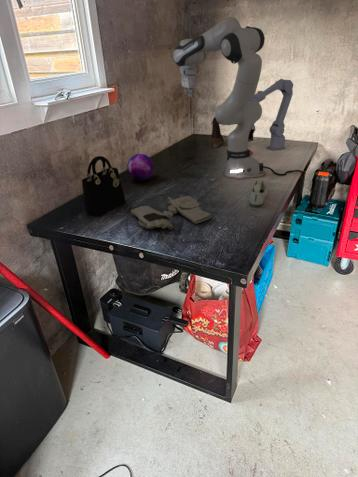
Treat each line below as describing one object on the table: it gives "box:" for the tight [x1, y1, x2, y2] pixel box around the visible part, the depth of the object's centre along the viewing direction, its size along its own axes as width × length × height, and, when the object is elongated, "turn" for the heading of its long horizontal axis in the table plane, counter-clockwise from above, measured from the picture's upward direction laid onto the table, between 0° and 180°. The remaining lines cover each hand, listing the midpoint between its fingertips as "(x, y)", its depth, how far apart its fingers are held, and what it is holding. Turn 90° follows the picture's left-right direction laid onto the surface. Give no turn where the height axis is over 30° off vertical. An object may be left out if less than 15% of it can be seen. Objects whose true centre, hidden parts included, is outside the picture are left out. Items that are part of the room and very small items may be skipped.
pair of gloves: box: [130, 195, 212, 230], centre depth 145 cm, size 30×26×5 cm
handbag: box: [81, 155, 126, 217], centre depth 153 cm, size 21×9×25 cm, turn 148°
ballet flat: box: [249, 179, 269, 207], centre depth 158 cm, size 8×24×8 cm, turn 163°
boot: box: [210, 116, 225, 149], centre depth 246 cm, size 9×24×20 cm, turn 168°
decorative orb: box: [126, 153, 155, 182], centre depth 186 cm, size 15×15×15 cm
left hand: (188, 96), depth 201 cm, fingers open, 8 cm apart
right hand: (248, 138), depth 224 cm, fingers closed on brick, 4 cm apart
